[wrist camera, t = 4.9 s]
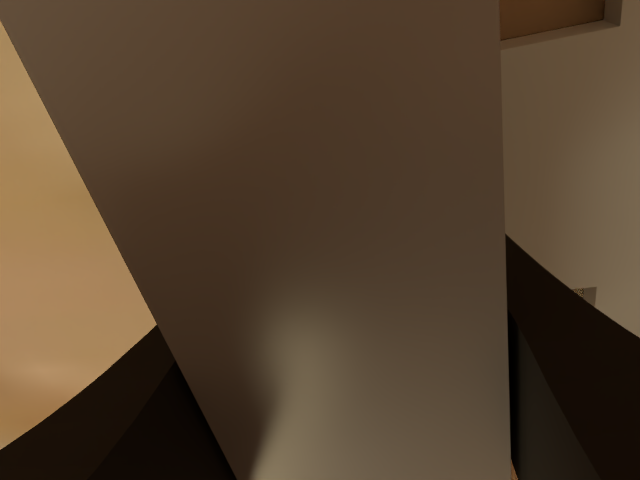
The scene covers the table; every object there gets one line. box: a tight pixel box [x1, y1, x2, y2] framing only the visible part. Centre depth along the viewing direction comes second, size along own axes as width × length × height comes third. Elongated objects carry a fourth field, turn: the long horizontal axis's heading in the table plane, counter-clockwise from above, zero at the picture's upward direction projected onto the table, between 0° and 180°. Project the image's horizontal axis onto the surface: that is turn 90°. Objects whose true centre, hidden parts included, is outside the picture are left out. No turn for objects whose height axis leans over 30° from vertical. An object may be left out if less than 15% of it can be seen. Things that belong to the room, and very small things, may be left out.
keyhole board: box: [500, 0, 640, 338], centre depth 12 cm, size 20×15×1 cm
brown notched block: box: [0, 0, 511, 480], centre depth 9 cm, size 14×4×6 cm, turn 12°
